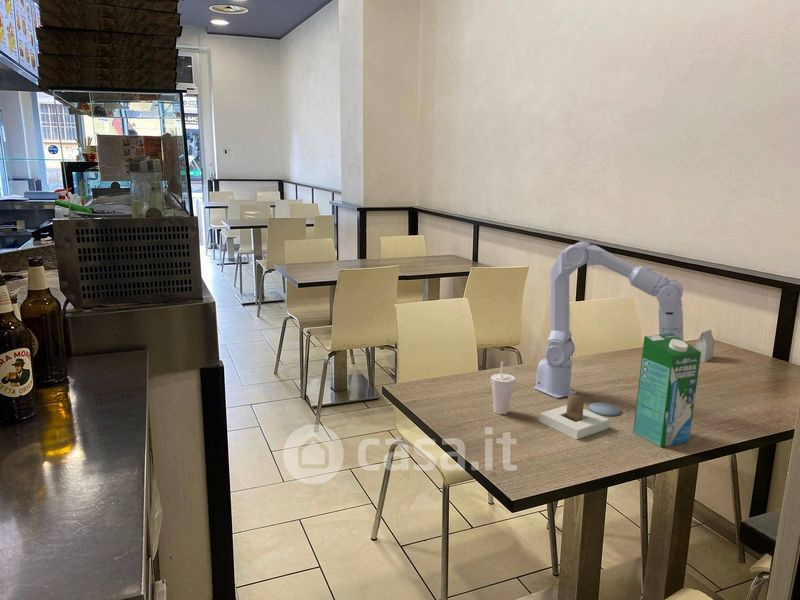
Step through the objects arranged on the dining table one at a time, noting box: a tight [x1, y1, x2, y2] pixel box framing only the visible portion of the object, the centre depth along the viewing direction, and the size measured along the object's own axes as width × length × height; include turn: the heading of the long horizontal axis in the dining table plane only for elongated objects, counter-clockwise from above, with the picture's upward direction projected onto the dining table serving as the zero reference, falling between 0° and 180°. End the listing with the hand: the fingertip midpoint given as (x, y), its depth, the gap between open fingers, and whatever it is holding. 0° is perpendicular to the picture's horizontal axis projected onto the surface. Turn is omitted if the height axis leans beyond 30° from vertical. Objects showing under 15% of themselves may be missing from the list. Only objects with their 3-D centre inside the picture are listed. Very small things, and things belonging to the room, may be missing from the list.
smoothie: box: [490, 361, 516, 415], centre depth 159 cm, size 6×6×14 cm
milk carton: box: [632, 333, 701, 448], centre depth 145 cm, size 9×9×25 cm
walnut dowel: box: [566, 394, 585, 422], centre depth 152 cm, size 4×4×8 cm
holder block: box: [539, 404, 610, 440], centre depth 153 cm, size 12×12×2 cm
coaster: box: [588, 401, 621, 417], centre depth 163 cm, size 8×8×1 cm
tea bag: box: [694, 329, 716, 363], centre depth 208 cm, size 4×7×10 cm, turn 131°
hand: (672, 377), depth 158 cm, fingers open, 7 cm apart
